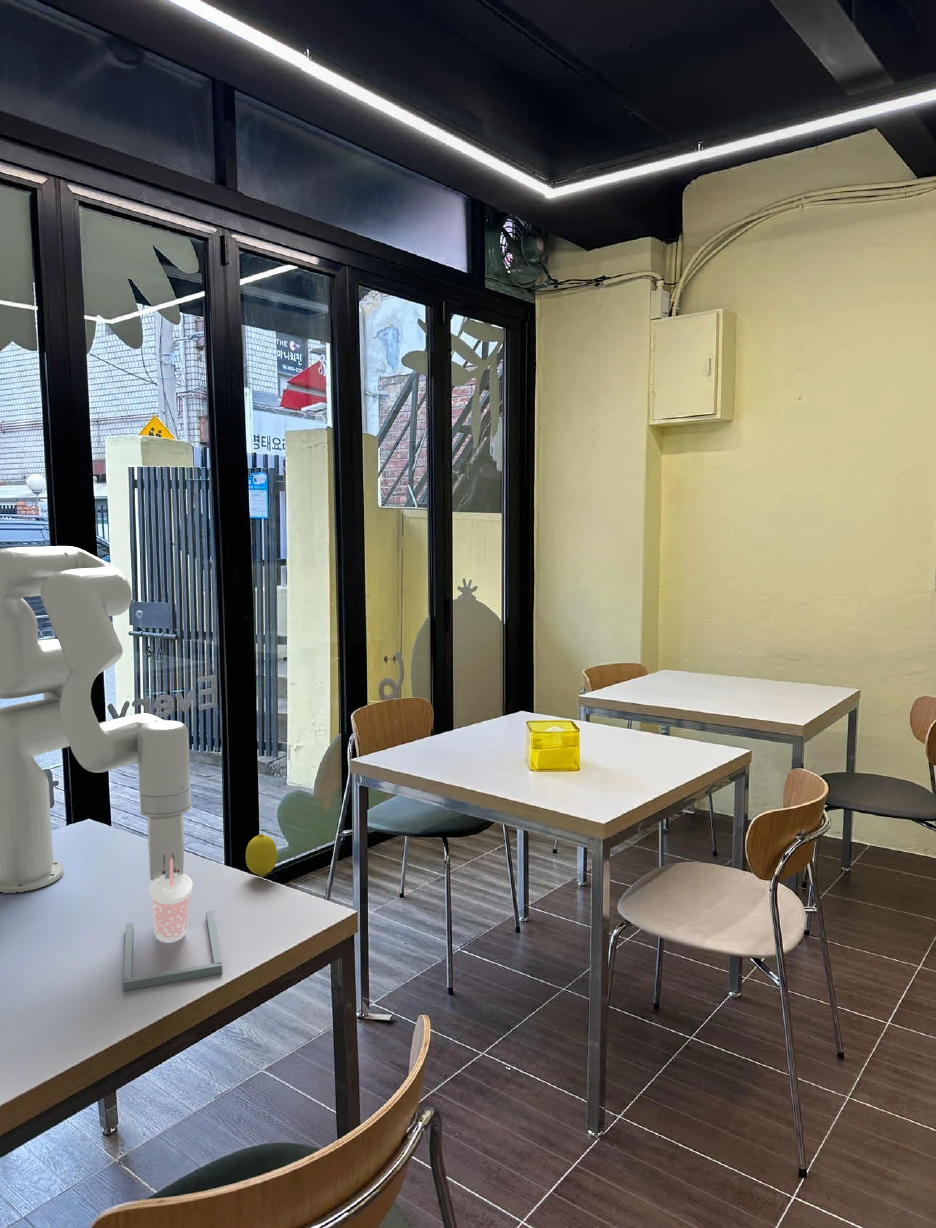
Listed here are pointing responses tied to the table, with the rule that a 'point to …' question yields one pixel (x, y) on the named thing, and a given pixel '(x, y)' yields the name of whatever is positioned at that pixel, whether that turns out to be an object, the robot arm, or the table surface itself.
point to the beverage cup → (170, 905)
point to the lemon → (261, 855)
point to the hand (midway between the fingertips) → (170, 912)
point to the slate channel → (173, 975)
